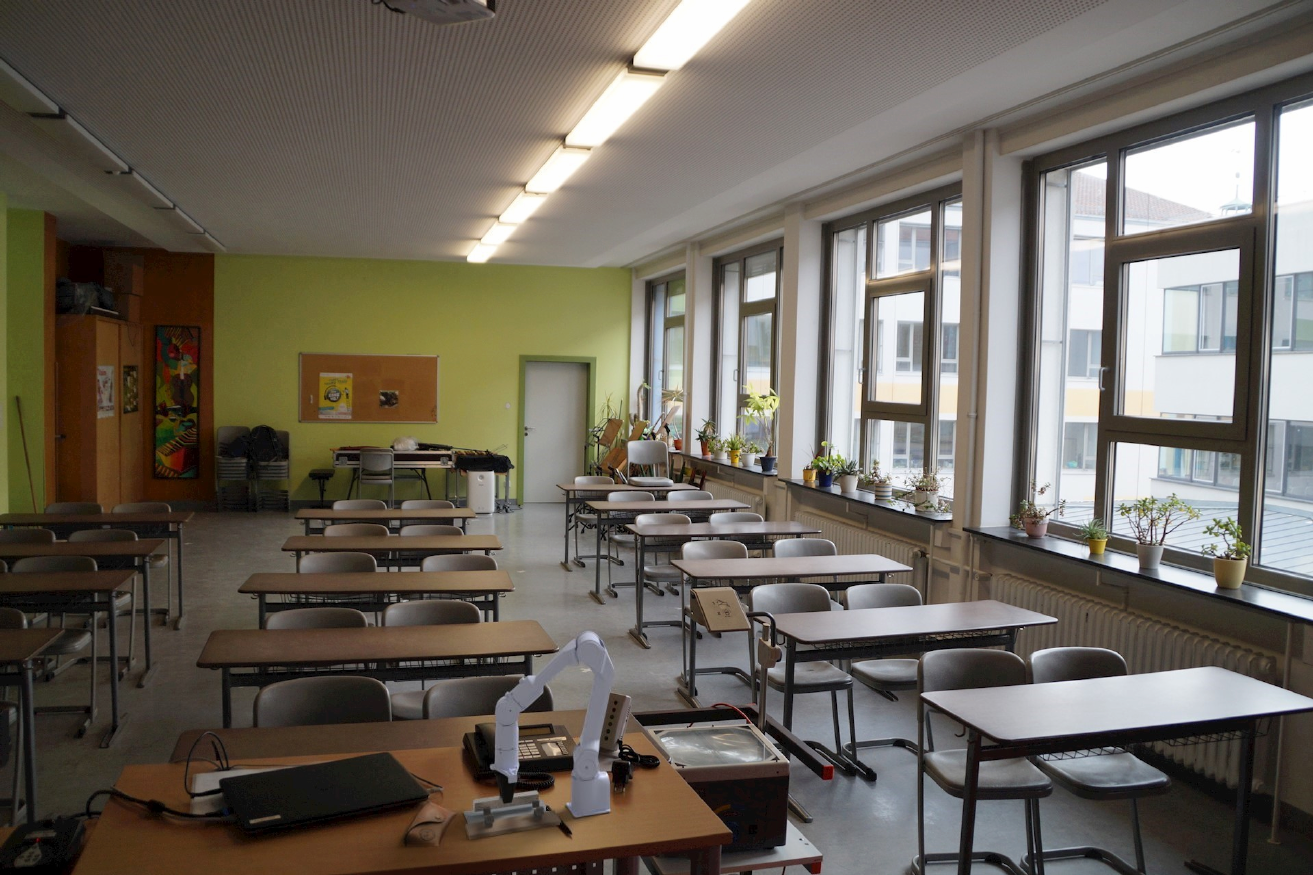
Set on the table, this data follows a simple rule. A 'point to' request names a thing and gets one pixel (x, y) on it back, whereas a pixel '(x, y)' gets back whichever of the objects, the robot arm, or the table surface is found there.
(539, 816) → the hook rack
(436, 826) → the sunglasses case
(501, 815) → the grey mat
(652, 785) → the table surface
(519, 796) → the rail
